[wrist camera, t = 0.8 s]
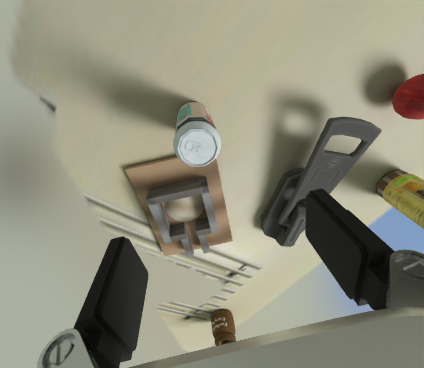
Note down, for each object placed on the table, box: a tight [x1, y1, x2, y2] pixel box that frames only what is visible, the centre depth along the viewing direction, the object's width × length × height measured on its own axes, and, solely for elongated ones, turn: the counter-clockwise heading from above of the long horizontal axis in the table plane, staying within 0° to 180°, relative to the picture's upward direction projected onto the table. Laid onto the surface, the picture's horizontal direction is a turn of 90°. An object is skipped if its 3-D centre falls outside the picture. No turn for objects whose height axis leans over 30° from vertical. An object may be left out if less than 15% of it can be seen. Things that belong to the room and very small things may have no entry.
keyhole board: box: [125, 156, 232, 257], centre depth 37 cm, size 20×14×4 cm
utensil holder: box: [211, 309, 236, 346], centre depth 53 cm, size 6×6×12 cm
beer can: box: [173, 102, 221, 167], centre depth 26 cm, size 5×5×12 cm
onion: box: [392, 74, 424, 119], centre depth 29 cm, size 6×6×8 cm
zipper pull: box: [261, 117, 381, 247], centre depth 36 cm, size 9×7×25 cm
